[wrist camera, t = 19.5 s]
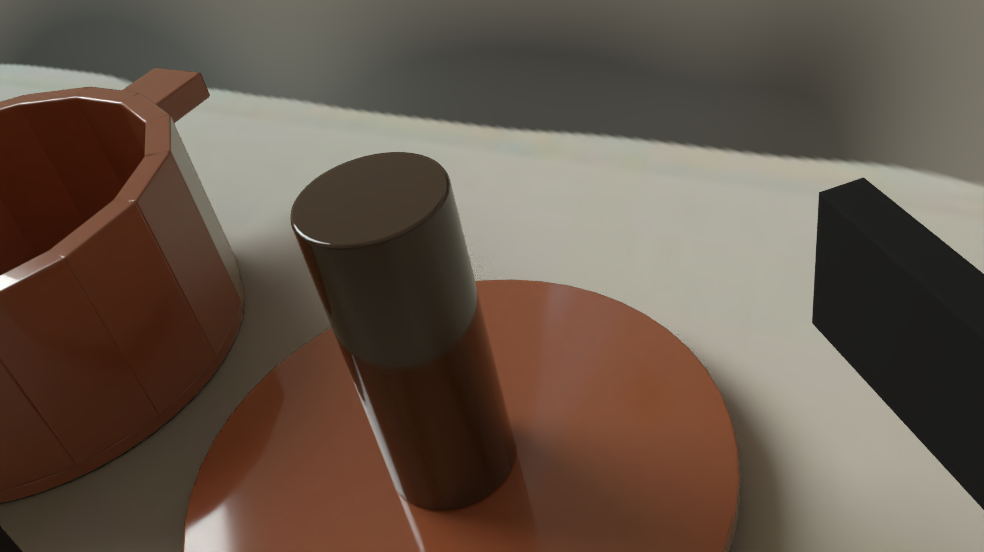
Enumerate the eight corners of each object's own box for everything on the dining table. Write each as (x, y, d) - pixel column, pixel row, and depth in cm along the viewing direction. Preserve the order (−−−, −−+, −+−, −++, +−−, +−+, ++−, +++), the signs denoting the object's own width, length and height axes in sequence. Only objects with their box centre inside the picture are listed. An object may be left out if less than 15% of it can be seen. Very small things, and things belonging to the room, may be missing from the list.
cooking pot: (-298, 504, 28) (-472, 355, 24) (126, 178, 40) (55, 41, 36) (-56, 659, 22) (-235, 496, 18) (360, 223, 34) (307, 64, 30)
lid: (85, 622, 22) (-144, 356, 17) (389, 273, 31) (307, 20, 25) (604, 905, 16) (521, 629, 10) (806, 365, 25) (821, 52, 19)
